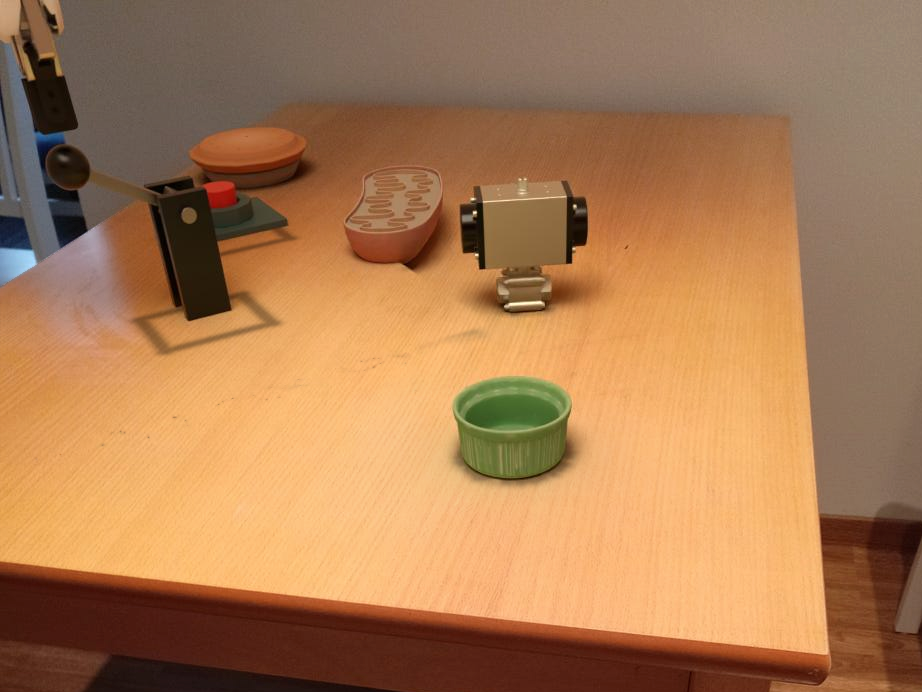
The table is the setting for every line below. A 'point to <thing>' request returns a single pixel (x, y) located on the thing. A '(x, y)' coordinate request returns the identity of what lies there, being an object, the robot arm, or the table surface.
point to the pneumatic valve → (523, 236)
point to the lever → (90, 175)
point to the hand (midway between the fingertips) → (58, 129)
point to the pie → (250, 156)
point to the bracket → (189, 248)
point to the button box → (245, 218)
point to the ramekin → (512, 425)
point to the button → (221, 194)
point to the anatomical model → (395, 213)
